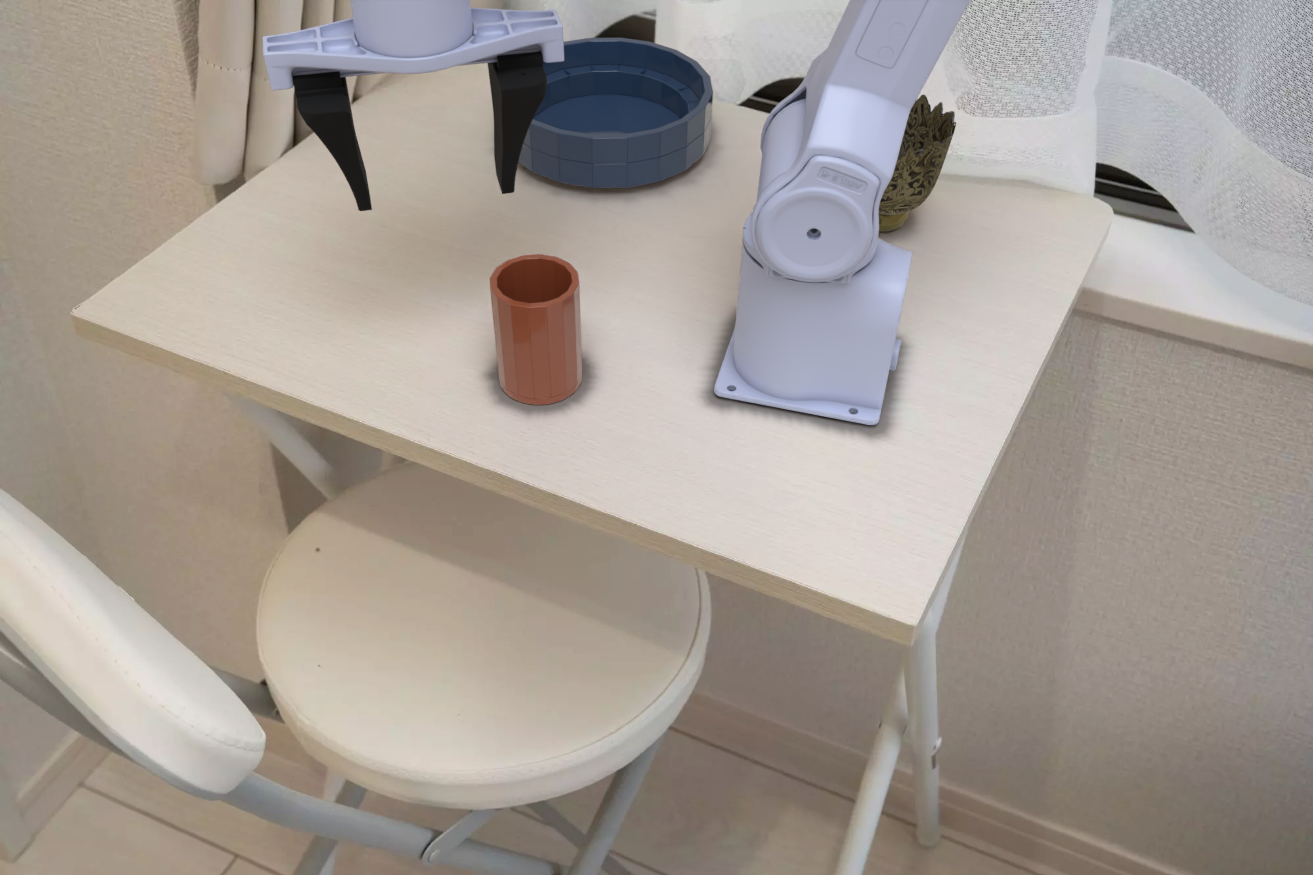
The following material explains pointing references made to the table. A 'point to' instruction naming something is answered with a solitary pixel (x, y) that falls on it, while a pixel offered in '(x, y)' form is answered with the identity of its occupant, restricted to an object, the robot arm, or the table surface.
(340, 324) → the table surface
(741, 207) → the table surface
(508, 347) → the cup
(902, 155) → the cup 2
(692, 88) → the bowl
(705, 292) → the table surface
